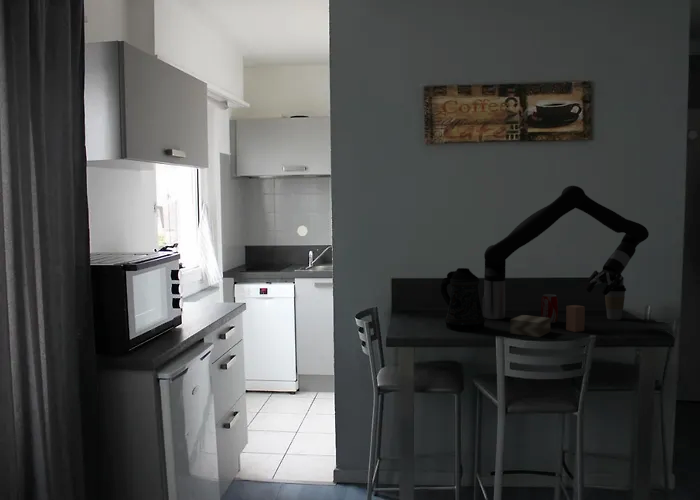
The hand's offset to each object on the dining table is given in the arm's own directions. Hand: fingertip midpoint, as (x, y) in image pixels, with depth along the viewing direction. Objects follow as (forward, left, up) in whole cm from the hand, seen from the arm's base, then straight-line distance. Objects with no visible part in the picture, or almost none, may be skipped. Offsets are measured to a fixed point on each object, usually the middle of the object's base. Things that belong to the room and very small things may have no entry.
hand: (596, 292), depth 260 cm
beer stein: (-48, -29, -15) cm, 58 cm away
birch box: (-20, -24, -15) cm, 34 cm away
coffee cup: (+2, +24, -15) cm, 29 cm away
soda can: (-20, +1, -15) cm, 25 cm away
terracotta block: (-6, -10, -15) cm, 19 cm away
